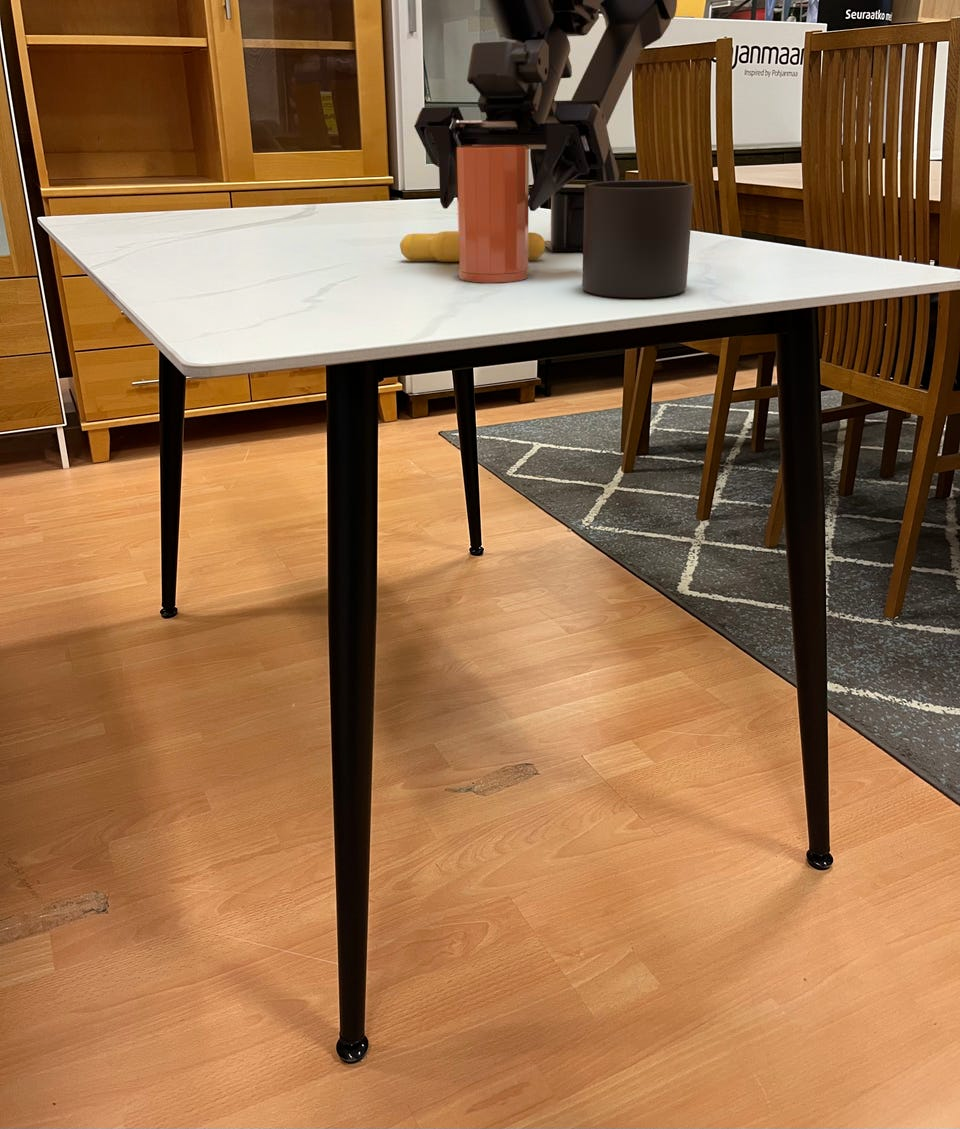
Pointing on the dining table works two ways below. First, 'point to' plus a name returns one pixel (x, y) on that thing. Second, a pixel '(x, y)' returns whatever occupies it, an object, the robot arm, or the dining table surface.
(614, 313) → the dining table surface
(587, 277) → the mug
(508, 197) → the pot
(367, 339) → the dining table surface
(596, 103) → the robot arm
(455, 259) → the yellow ridged dog toy
